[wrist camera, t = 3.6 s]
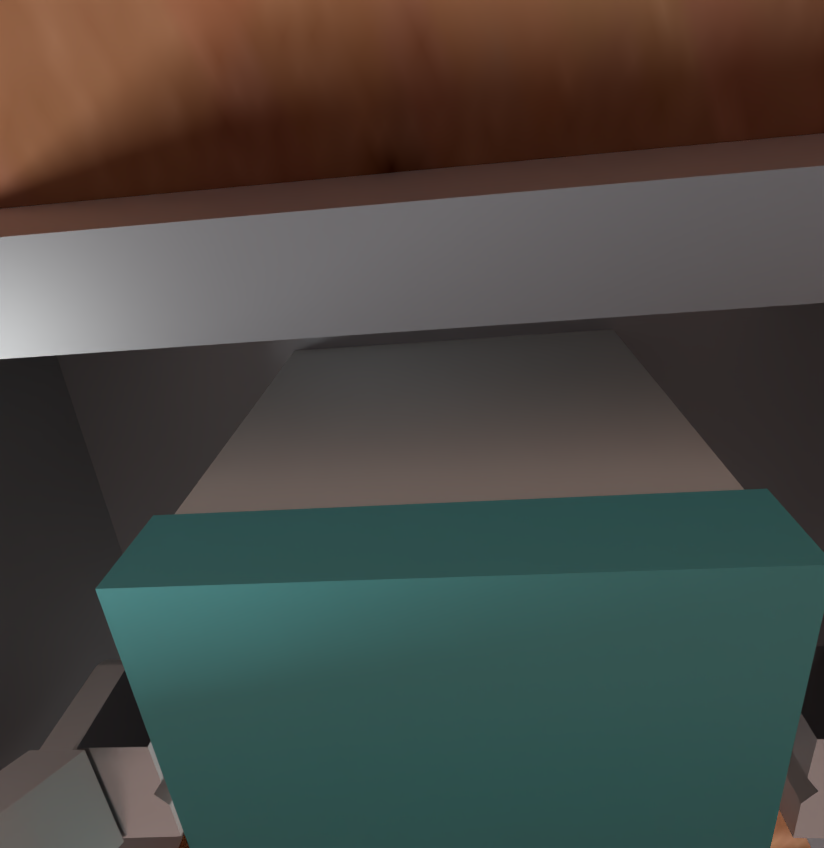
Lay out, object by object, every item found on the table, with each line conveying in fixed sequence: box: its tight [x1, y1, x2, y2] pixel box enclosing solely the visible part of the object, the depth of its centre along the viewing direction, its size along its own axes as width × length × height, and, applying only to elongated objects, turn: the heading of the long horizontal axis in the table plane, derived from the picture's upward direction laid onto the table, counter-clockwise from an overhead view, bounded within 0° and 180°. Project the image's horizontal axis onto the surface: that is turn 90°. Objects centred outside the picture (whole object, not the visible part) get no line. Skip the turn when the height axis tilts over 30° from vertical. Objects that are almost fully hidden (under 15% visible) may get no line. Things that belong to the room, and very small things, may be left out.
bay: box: [0, 133, 824, 848], centre depth 10 cm, size 15×13×5 cm
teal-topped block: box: [95, 329, 824, 848], centre depth 9 cm, size 5×9×6 cm, turn 5°
